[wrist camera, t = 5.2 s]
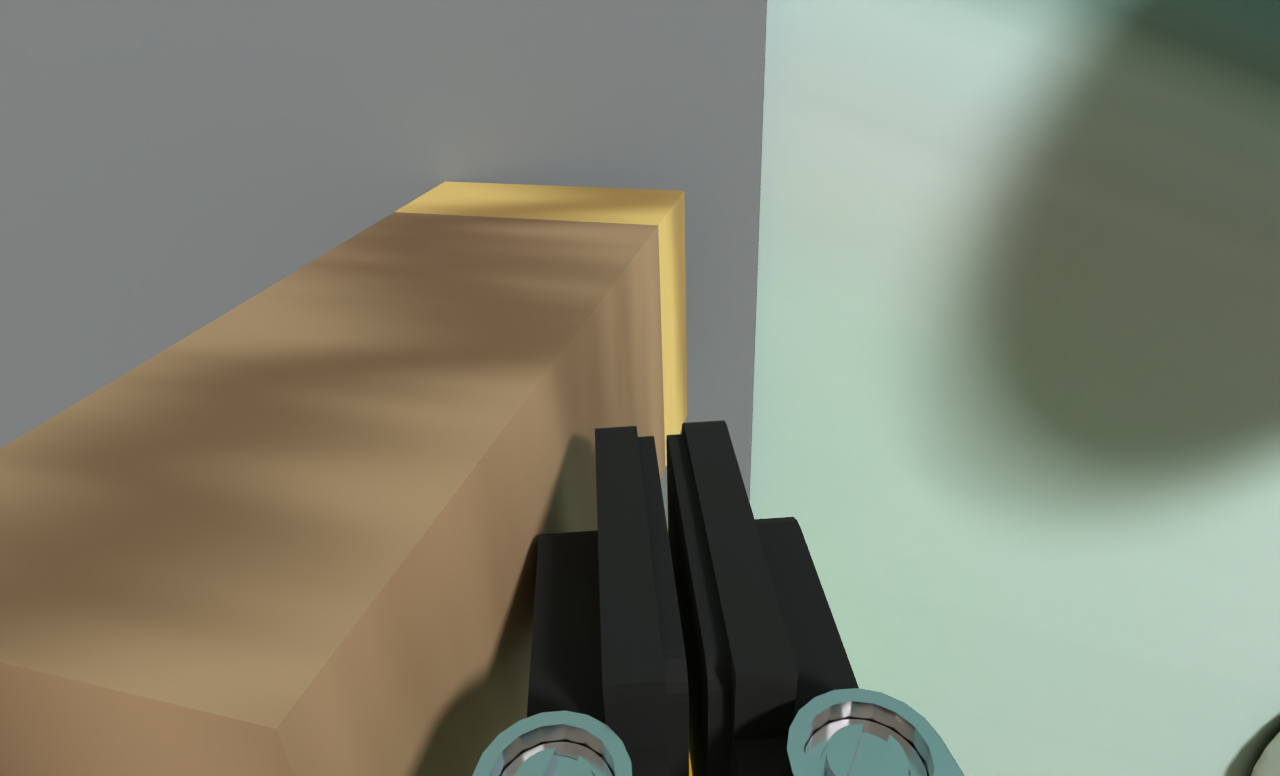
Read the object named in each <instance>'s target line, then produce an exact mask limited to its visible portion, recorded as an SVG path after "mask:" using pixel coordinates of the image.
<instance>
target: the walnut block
mask: <svg viewBox="0 0 1280 776" xmlns="http://www.w3.org/2000/svg"><path fill="white" fill-rule="evenodd" d="M686 417H687V346H686V270H685V194H684V191H677V190H651V189H626V188H600V187H575V186H549V185H524V184H498V183H473V182H447V181H445V182H443V183H442V184H440V185H438V186H437V187H435V188H433V189H432V190H430V191H428V192H427V193H425V194H423V195H422V196H420V197H418V198H417V199H415V200H413V201H412V202H410V203H408V204H407V205H405V206H403V207H402V208H400V209H398V210H397V211H395V212H393V213H392V214H390V215H388V216H387V217H385V218H383V219H382V220H380V221H378V222H377V223H375V224H373V225H372V226H370V227H368V228H367V229H365V230H363V231H362V232H360V233H358V234H357V235H355V236H353V237H352V238H350V239H348V240H347V241H345V242H343V243H342V244H340V245H338V246H337V247H335V248H333V249H332V250H330V251H328V252H327V253H325V254H323V255H322V256H320V257H318V258H317V259H315V260H313V261H312V262H310V263H308V264H307V265H305V266H303V267H302V268H300V269H298V270H297V271H295V272H293V273H292V274H290V275H288V276H287V277H285V278H283V279H282V280H280V281H278V282H277V283H275V284H273V285H272V286H270V287H268V288H267V289H265V290H263V291H262V292H260V293H258V294H257V295H255V296H253V297H252V298H250V299H248V300H247V301H245V302H243V303H242V304H240V305H238V306H237V307H235V308H233V309H232V310H230V311H228V312H227V313H225V314H223V315H222V316H220V317H218V318H217V319H215V320H213V321H212V322H210V323H208V324H207V325H205V326H203V327H202V328H200V329H199V330H197V331H195V332H194V333H192V334H190V335H189V336H187V337H185V338H184V339H182V340H180V341H179V342H177V343H175V344H174V345H172V346H170V347H169V348H167V349H165V350H164V351H162V352H160V353H159V354H157V355H155V356H154V357H152V358H150V359H149V360H147V361H145V362H144V363H142V364H140V365H139V366H137V367H135V368H134V369H132V370H130V371H129V372H127V373H125V374H124V375H122V376H120V377H119V378H117V379H115V380H114V381H112V382H110V383H109V384H107V385H105V386H104V387H102V388H100V389H99V390H97V391H95V392H94V393H92V394H90V395H89V396H87V397H85V398H84V399H82V400H80V401H79V402H77V403H75V404H74V405H72V406H70V407H69V408H67V409H65V410H64V411H62V412H60V413H59V414H57V415H55V416H54V417H52V418H50V419H49V420H47V421H45V422H44V423H42V424H40V425H39V426H37V427H35V428H34V429H32V430H30V431H29V432H27V433H25V434H24V435H22V436H20V437H19V438H17V439H15V440H14V441H12V442H10V443H9V444H7V445H5V446H4V447H2V448H0V776H472V775H473V773H474V771H475V769H476V766H477V764H478V762H479V760H480V758H481V755H482V753H483V752H484V751H485V750H486V749H487V747H488V746H489V745H490V744H491V743H492V742H493V740H494V739H495V738H496V737H497V736H498V735H499V734H500V733H502V732H503V731H504V730H506V729H507V728H509V727H510V726H512V725H513V724H515V723H516V722H518V721H519V720H522V719H525V718H527V704H528V689H529V674H530V659H531V644H532V629H533V614H534V599H535V584H536V569H537V554H538V542H539V537H540V534H551V533H565V532H580V531H595V530H598V524H597V490H596V456H595V428H609V427H625V426H637V433H638V437H644V436H654V440H655V446H656V453H657V460H658V467H659V474H660V480H661V478H662V475H663V473H664V470H665V468H666V466H667V449H666V439H667V435H675V434H680V432H681V430H682V424H683V423H684V422H685V420H686Z"/></svg>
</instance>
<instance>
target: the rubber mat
mask: <svg viewBox="0 0 1280 776" xmlns="http://www.w3.org/2000/svg"><path fill="white" fill-rule="evenodd" d="M766 13H767V0H0V448H2V447H4V446H5V445H7V444H9V443H10V442H12V441H14V440H15V439H17V438H19V437H20V436H22V435H24V434H25V433H27V432H29V431H30V430H32V429H34V428H35V427H37V426H39V425H40V424H42V423H44V422H45V421H47V420H49V419H50V418H52V417H54V416H55V415H57V414H59V413H60V412H62V411H64V410H65V409H67V408H69V407H70V406H72V405H74V404H75V403H77V402H79V401H80V400H82V399H84V398H85V397H87V396H89V395H90V394H92V393H94V392H95V391H97V390H99V389H100V388H102V387H104V386H105V385H107V384H109V383H110V382H112V381H114V380H115V379H117V378H119V377H120V376H122V375H124V374H125V373H127V372H129V371H130V370H132V369H134V368H135V367H137V366H139V365H140V364H142V363H144V362H145V361H147V360H149V359H150V358H152V357H154V356H155V355H157V354H159V353H160V352H162V351H164V350H165V349H167V348H169V347H170V346H172V345H174V344H175V343H177V342H179V341H180V340H182V339H184V338H185V337H187V336H189V335H190V334H192V333H194V332H195V331H197V330H199V329H200V328H202V327H203V326H205V325H207V324H208V323H210V322H212V321H213V320H215V319H217V318H218V317H220V316H222V315H223V314H225V313H227V312H228V311H230V310H232V309H233V308H235V307H237V306H238V305H240V304H242V303H243V302H245V301H247V300H248V299H250V298H252V297H253V296H255V295H257V294H258V293H260V292H262V291H263V290H265V289H267V288H268V287H270V286H272V285H273V284H275V283H277V282H278V281H280V280H282V279H283V278H285V277H287V276H288V275H290V274H292V273H293V272H295V271H297V270H298V269H300V268H302V267H303V266H305V265H307V264H308V263H310V262H312V261H313V260H315V259H317V258H318V257H320V256H322V255H323V254H325V253H327V252H328V251H330V250H332V249H333V248H335V247H337V246H338V245H340V244H342V243H343V242H345V241H347V240H348V239H350V238H352V237H353V236H355V235H357V234H358V233H360V232H362V231H363V230H365V229H367V228H368V227H370V226H372V225H373V224H375V223H377V222H378V221H380V220H382V219H383V218H385V217H387V216H388V215H390V214H392V213H393V212H395V211H397V210H398V209H400V208H402V207H403V206H405V205H407V204H408V203H410V202H412V201H413V200H415V199H417V198H418V197H420V196H422V195H423V194H425V193H427V192H428V191H430V190H432V189H433V188H435V187H437V186H438V185H440V184H442V183H443V182H445V181H447V182H473V183H498V184H524V185H549V186H575V187H600V188H626V189H651V190H677V191H684V194H685V270H686V346H687V417H686V420H685V422H684V423H688V422H704V421H720V420H724V421H725V422H726V424H727V427H728V431H729V434H730V438H731V441H732V445H733V448H734V451H735V455H736V458H737V462H738V465H739V469H740V472H741V475H742V479H743V482H744V486H745V489H746V493H747V496H748V499H750V471H751V442H752V414H753V385H754V356H755V328H756V299H757V271H758V242H759V213H760V185H761V156H762V127H763V99H764V70H765V42H766ZM681 432H682V430H681ZM681 432H680V434H681ZM660 481H661V488H662V495H663V502H664V509H665V516H666V523H667V530H668V500H667V466H666V468H665V470H664V473H663V475H662V478H661V480H660Z"/></svg>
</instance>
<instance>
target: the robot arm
mask: <svg viewBox="0 0 1280 776" xmlns="http://www.w3.org/2000/svg"><path fill="white" fill-rule="evenodd" d="M666 449H667V500H668V530H667V523H666V516H665V509H664V502H663V495H662V488H661V481H660V474H659V467H658V460H657V453H656V446H655V440H654V436H644V437H638V433H637V426H625V427H609V428H595V456H596V490H597V524H598V530H595V531H580V532H565V533H551V534H540V537H539V542H538V554H537V569H536V584H535V599H534V614H533V629H532V644H531V659H530V674H529V689H528V704H527V718H525V719H522V720H519V721H518V722H516V723H515V724H513V725H512V726H510V727H509V728H507V729H506V730H504V731H503V732H502V733H500V734H499V735H498V736H497V737H496V738H495V739H494V740H493V742H492V743H491V744H490V745H489V746H488V747H487V749H486V750H485V751H484V752H483V753H482V755H481V758H480V760H479V762H478V764H477V766H476V769H475V771H474V773H473V775H472V776H689V753H690V761H691V769H692V776H964V774H963V772H962V771H961V769H960V767H959V766H958V764H957V763H956V761H955V759H954V758H953V756H952V754H951V753H950V751H949V750H948V748H947V746H946V745H945V743H944V742H943V740H942V738H941V737H940V736H939V735H938V733H937V732H936V731H935V730H934V728H933V727H932V726H931V725H930V724H929V722H928V721H927V720H926V719H925V718H924V717H923V716H922V715H920V714H919V713H917V712H916V711H915V710H913V709H912V708H911V707H909V706H908V705H907V704H905V703H904V702H902V701H899V700H897V699H895V698H892V697H890V696H888V695H886V694H883V693H881V692H875V691H870V690H864V689H859V687H858V685H857V682H856V679H855V676H854V674H853V671H852V668H851V665H850V663H849V660H848V657H847V654H846V652H845V649H844V646H843V643H842V641H841V638H840V635H839V632H838V630H837V627H836V624H835V621H834V619H833V616H832V613H831V610H830V608H829V605H828V602H827V599H826V597H825V594H824V591H823V588H822V586H821V583H820V580H819V577H818V575H817V572H816V569H815V566H814V564H813V561H812V558H811V555H810V553H809V550H808V547H807V544H806V542H805V539H804V536H803V533H802V531H801V528H800V526H799V524H798V522H797V520H796V519H795V518H794V517H785V518H771V519H756V520H754V517H753V513H752V510H751V506H750V503H749V499H748V496H747V493H746V489H745V486H744V482H743V479H742V475H741V472H740V469H739V465H738V462H737V458H736V455H735V451H734V448H733V445H732V441H731V438H730V434H729V431H728V427H727V424H726V422H725V421H724V420H720V421H704V422H688V423H683V424H682V432H681V434H675V435H667V439H666ZM1251 776H1280V731H1279V732H1278V733H1277V734H1276V735H1275V737H1274V738H1273V739H1272V740H1271V741H1270V742H1269V743H1268V744H1267V746H1266V748H1265V749H1264V751H1263V752H1262V754H1261V756H1260V757H1259V759H1258V760H1257V762H1256V764H1255V765H1254V768H1253V771H1252V774H1251Z"/></svg>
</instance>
